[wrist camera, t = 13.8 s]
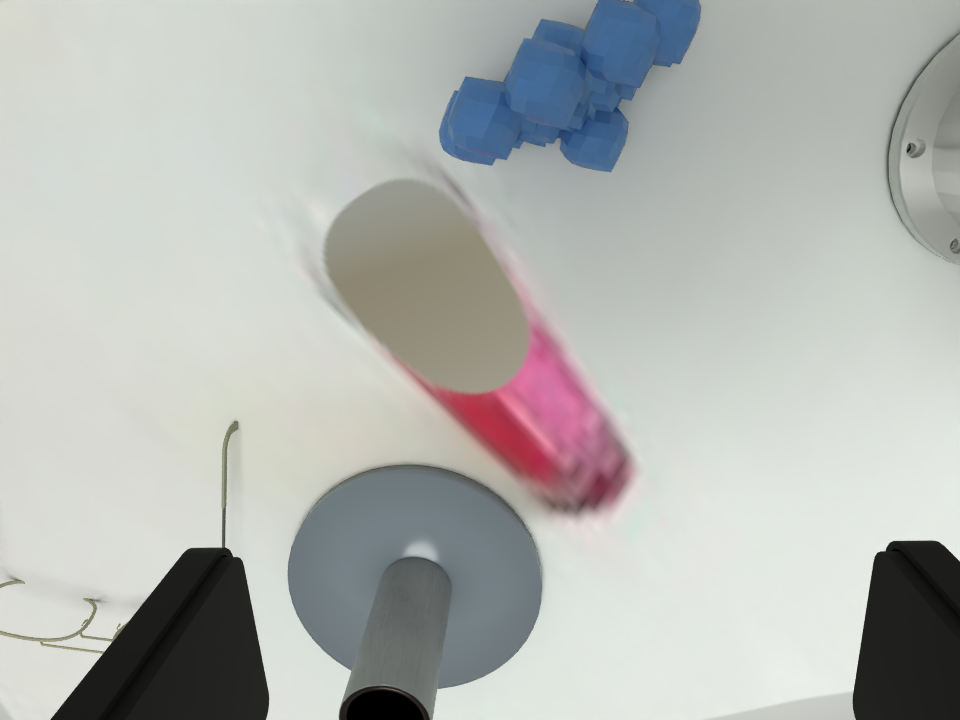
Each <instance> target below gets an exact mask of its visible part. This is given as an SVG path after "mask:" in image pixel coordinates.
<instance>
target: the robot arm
mask: <svg viewBox="0 0 960 720" xmlns="http://www.w3.org/2000/svg"><path fill="white" fill-rule="evenodd" d="M909 143H910V145H911V149H910V151H909V152H908V153H907V150H906V149H907V146H908V144H909ZM889 182H890V187H891V192H892V196H893V201H894V204H895V206H896V208H897V210H898V212H899V215H900V217H901V219H902V221H903V223H904V224H905V226H906V227H907V228H908V229H909V231H910V232H911V233H912V234H913V236H914V237H915V238H916V240H917V241H919V242H920V243H921V244H922V245H924V246H925V247H926V248H927V249H929V250H930V251H931V252H932V253H934V254H936V255H938V256H940V257H942V258H944V259H946V260H948V261H950V262H952V263H954V264H958V265H960V34H959V35H958V36H956V37H955V38H954V39H953V40H952V41H951V42H950V43H949V44H948V45H947V46H946V47H944V48H943V49H942V50H941V51H940V52H939V53H938V54H937V55H936V56H935V57H934V58H933V60H932V61H931V62H930V63H929V65H928V66H927V67H926V68H925V70H924V71H923V72H922V73H921V75H920V76H919V77H918V78H917V80H916V82H915V83H914V85H913V87H912V89H911V90H910V92H909V94H908V96H907V97H906V99H905V101H904V103H903V105H902V107H901V110H900V113H899V115H898V118H897V121H896V124H895V126H894V129H893V134H892V139H891V145H890V151H889ZM952 241H953V244H952V245H951V242H952ZM950 245H951V246H950ZM268 707H269V692H268V687H267V682H266V677H265V672H264V667H263V662H262V656H261V651H260V646H259V641H258V636H257V631H256V626H255V620H254V615H253V610H252V605H251V600H250V595H249V590H248V585H247V579H246V574H245V569H244V565H243V562H242V560H241V559H240V558H238V557H233V555H232V553H231V551H230V550H229V549H227V548H190V549H188V550H186V551H185V552H184V553H183V554H182V556H181V557H180V558H179V559H178V561H177V562H176V563H175V564H174V566H173V567H172V568H171V569H170V571H169V572H168V573H167V574H166V576H165V577H164V578H163V579H162V581H161V582H160V583H159V584H158V586H157V587H156V588H155V589H154V591H153V592H152V593H151V594H150V596H149V597H148V598H147V599H146V601H145V602H144V603H143V604H142V606H141V607H140V608H139V609H138V611H137V612H136V613H135V614H134V616H133V617H132V618H131V620H130V621H129V622H128V623H127V625H126V626H125V627H124V628H123V630H122V631H121V632H120V633H119V635H118V636H117V637H116V638H115V640H114V641H113V642H112V643H111V645H110V646H109V647H108V648H107V650H106V651H105V652H104V653H103V655H102V656H101V657H100V658H99V660H98V661H97V662H96V663H95V665H94V666H93V667H92V668H91V670H90V671H89V672H88V673H87V675H86V676H85V677H84V678H83V680H82V681H81V682H80V683H79V685H78V686H77V687H76V688H75V690H74V691H73V692H72V693H71V695H70V696H69V697H68V698H67V700H66V701H65V702H64V703H63V705H62V706H61V707H60V708H59V710H58V711H57V712H56V713H55V715H54V716H53V717H52V718H51V720H266V717H267V713H268ZM853 710H854V714H855V718H856V720H960V561H959V560H958V559H957V558H956V557H955V556H954V555H953V554H952V553H951V552H950V551H949V550H948V549H947V548H946V547H945V546H944V545H942V544H941V543H939V542H937V541H893V542H891V543H889V545H888V546H887V548H886V551H883V552H878V553H877V554H876V556H875V559H874V563H873V570H872V576H871V583H870V589H869V596H868V602H867V608H866V615H865V621H864V628H863V634H862V641H861V647H860V654H859V660H858V667H857V673H856V680H855V686H854V693H853Z"/></svg>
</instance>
